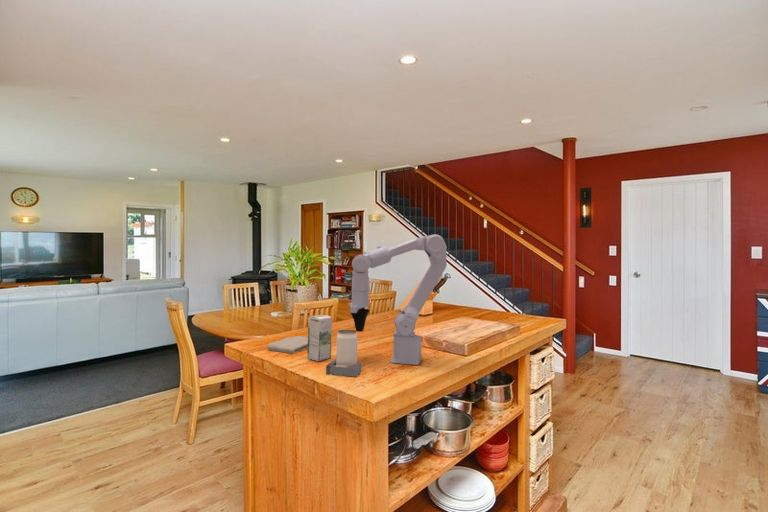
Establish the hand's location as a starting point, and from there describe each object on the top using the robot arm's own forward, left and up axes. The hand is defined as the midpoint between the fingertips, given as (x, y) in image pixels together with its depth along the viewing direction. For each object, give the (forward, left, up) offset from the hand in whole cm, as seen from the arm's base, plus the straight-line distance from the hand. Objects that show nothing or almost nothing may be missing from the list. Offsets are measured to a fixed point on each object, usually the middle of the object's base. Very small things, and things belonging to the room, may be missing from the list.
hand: (359, 331), depth 131 cm
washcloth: (+28, -10, -11) cm, 32 cm away
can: (+1, +11, -10) cm, 15 cm away
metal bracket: (+1, +7, -10) cm, 12 cm away
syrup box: (+13, +2, -10) cm, 17 cm away
